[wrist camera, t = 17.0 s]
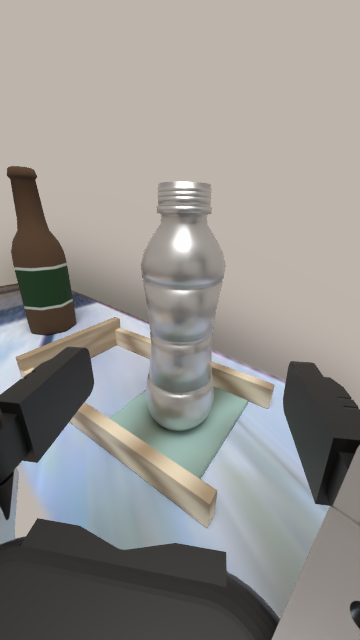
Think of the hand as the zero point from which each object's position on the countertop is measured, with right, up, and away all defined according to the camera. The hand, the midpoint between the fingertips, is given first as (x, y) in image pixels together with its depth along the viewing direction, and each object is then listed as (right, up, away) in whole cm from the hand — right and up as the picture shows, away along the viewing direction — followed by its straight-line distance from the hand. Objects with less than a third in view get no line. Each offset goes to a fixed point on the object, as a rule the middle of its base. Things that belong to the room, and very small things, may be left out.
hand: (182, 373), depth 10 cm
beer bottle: (-22, +1, +34) cm, 40 cm away
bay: (-4, -6, +18) cm, 19 cm away
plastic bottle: (0, -7, +15) cm, 16 cm away
